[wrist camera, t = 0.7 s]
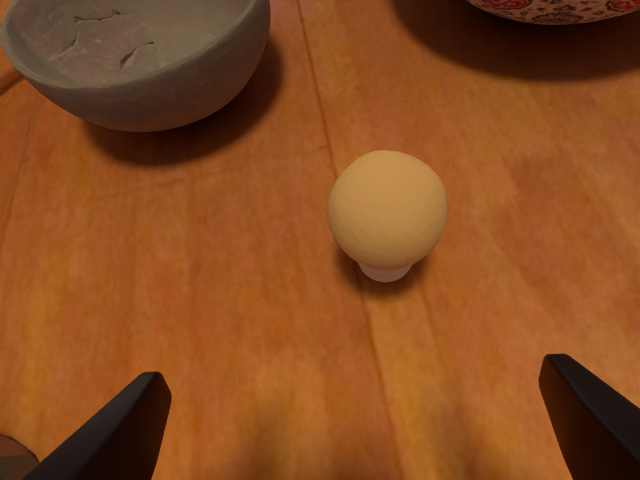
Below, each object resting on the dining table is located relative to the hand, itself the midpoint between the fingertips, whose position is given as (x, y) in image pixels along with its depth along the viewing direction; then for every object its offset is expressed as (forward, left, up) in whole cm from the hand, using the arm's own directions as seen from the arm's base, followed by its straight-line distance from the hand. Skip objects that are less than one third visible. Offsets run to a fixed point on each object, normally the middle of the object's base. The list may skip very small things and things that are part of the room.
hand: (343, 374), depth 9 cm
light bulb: (+9, -4, -16) cm, 19 cm away
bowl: (+31, +10, -16) cm, 36 cm away
